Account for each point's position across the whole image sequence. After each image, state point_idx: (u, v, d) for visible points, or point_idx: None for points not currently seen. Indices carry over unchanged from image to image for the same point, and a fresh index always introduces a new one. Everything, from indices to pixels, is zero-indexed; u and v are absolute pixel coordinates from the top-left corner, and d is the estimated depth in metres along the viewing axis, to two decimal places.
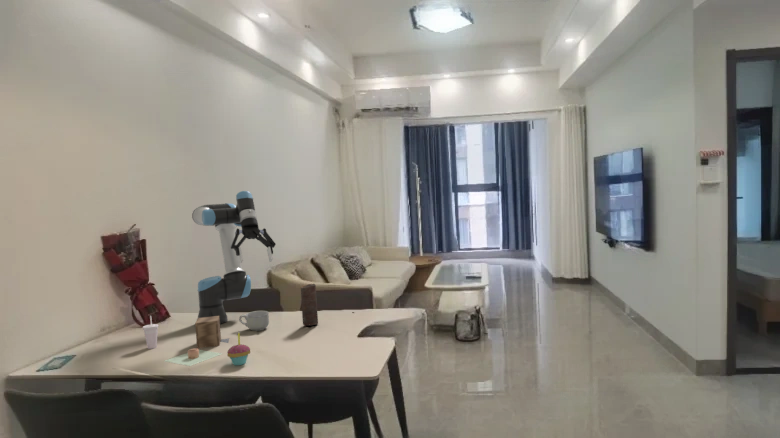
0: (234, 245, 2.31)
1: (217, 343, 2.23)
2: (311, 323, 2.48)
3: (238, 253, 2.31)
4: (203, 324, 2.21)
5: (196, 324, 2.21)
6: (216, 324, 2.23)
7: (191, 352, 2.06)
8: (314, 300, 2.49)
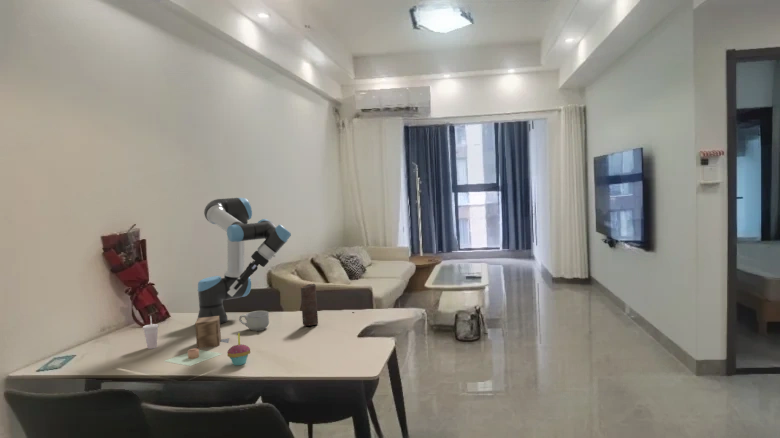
0: (243, 283, 2.21)
1: (217, 343, 2.23)
2: (311, 323, 2.48)
3: (236, 289, 2.22)
4: (203, 324, 2.21)
5: (196, 324, 2.21)
6: (216, 324, 2.23)
7: (191, 352, 2.06)
8: (314, 300, 2.49)
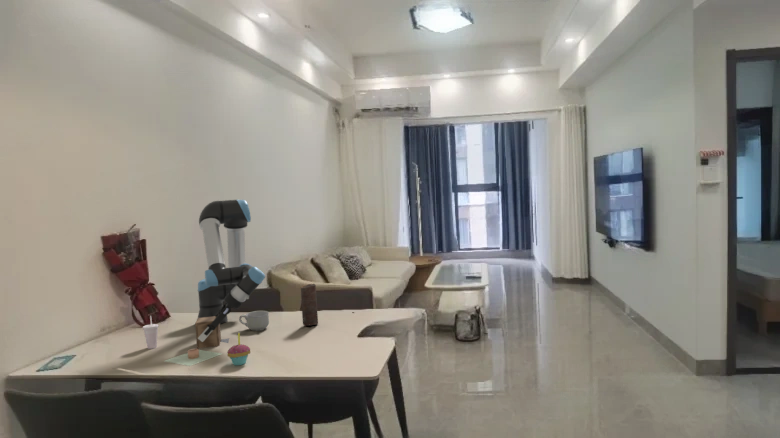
0: None
1: (217, 343, 2.23)
2: (311, 323, 2.48)
3: (207, 334, 2.21)
4: (203, 324, 2.21)
5: (196, 324, 2.21)
6: None
7: (191, 352, 2.06)
8: (314, 300, 2.49)
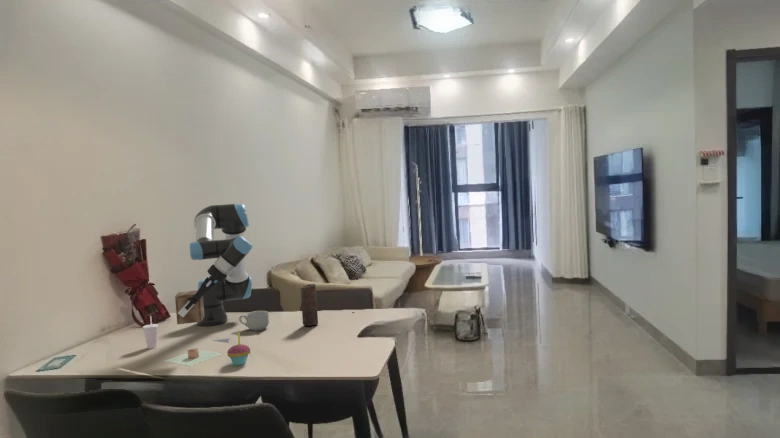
0: (196, 302, 2.01)
1: (199, 318, 2.03)
2: (311, 323, 2.48)
3: (188, 309, 2.01)
4: (184, 297, 2.02)
5: (176, 297, 2.01)
6: None
7: (191, 352, 2.06)
8: (314, 300, 2.49)
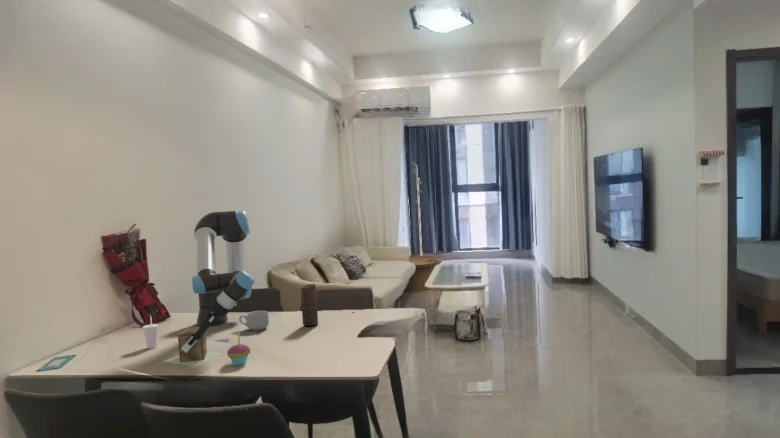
0: (199, 338, 2.00)
1: (202, 356, 2.04)
2: (311, 323, 2.48)
3: (191, 344, 2.01)
4: (186, 336, 2.02)
5: (179, 336, 2.02)
6: None
7: None
8: (314, 300, 2.49)
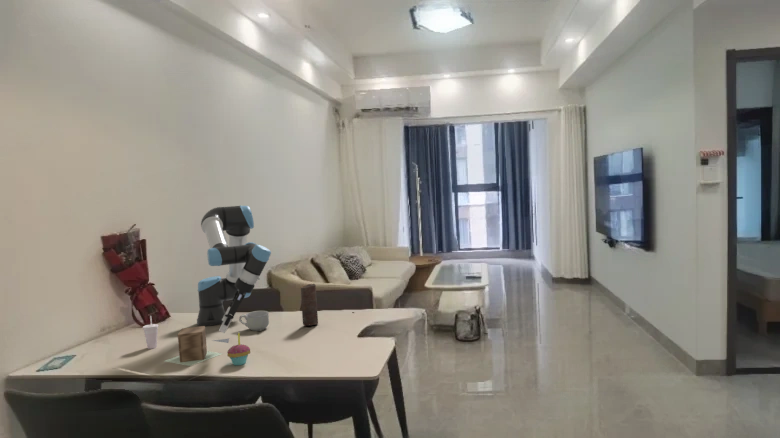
0: (232, 317, 2.06)
1: (202, 356, 2.04)
2: (311, 323, 2.48)
3: (227, 324, 2.07)
4: (186, 336, 2.02)
5: (179, 336, 2.02)
6: (201, 335, 2.04)
7: None
8: (314, 300, 2.49)
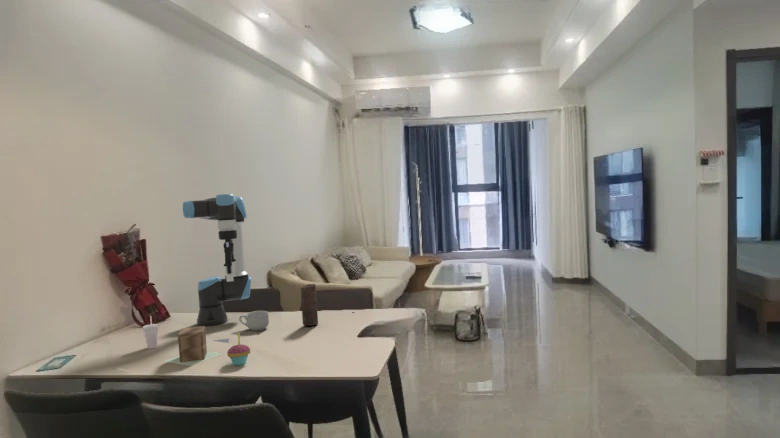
0: (231, 263, 2.15)
1: (202, 356, 2.04)
2: (311, 323, 2.48)
3: (230, 272, 2.17)
4: (186, 336, 2.02)
5: (179, 336, 2.02)
6: (201, 335, 2.04)
7: None
8: (314, 300, 2.49)
